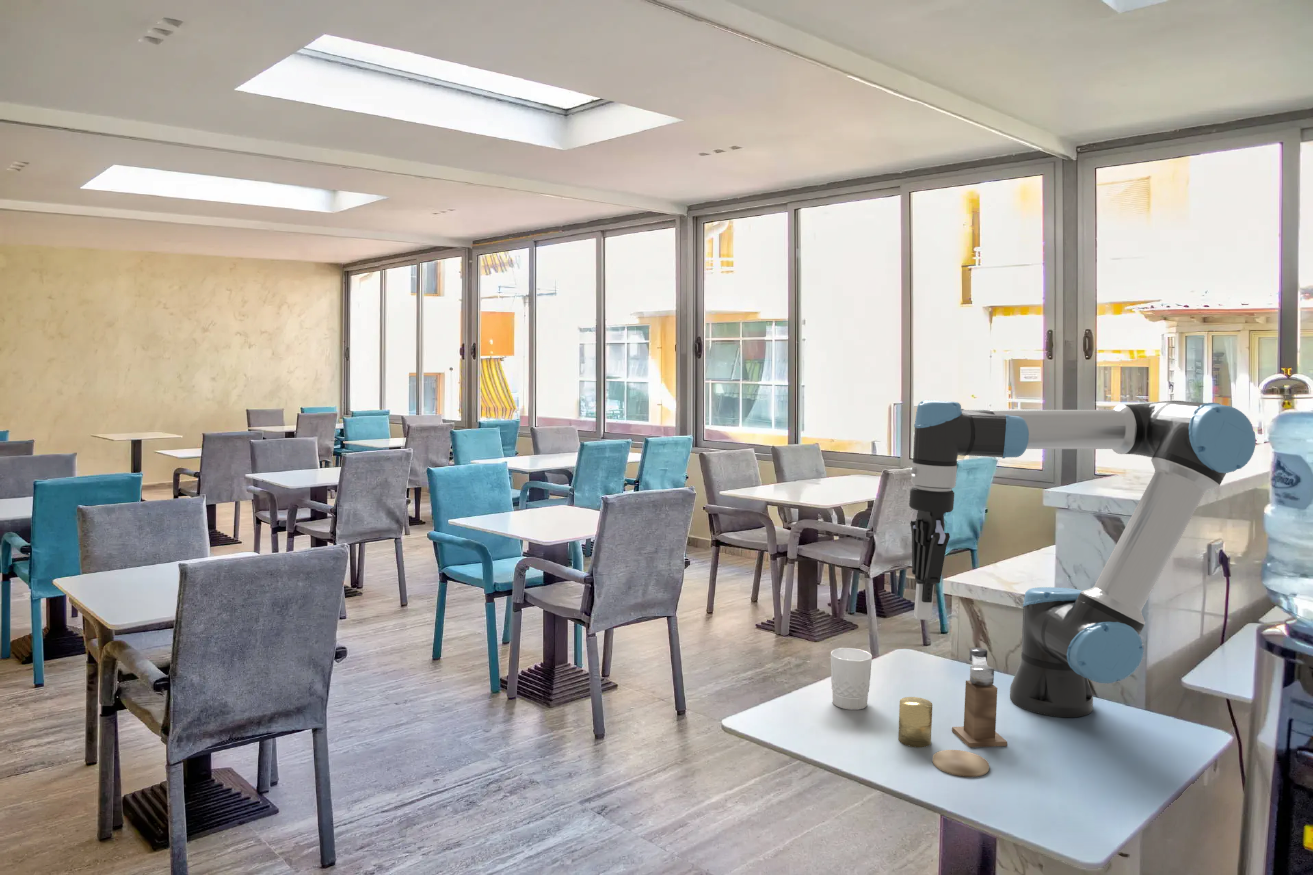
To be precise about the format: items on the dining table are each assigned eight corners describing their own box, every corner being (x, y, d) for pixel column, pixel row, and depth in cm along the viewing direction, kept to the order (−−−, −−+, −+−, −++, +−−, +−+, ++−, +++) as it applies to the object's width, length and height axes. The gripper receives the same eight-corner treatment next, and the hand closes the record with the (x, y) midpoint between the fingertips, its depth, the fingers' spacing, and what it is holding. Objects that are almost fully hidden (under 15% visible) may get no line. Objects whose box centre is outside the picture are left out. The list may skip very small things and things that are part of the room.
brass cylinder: (923, 734, 168) (924, 696, 167) (936, 747, 162) (937, 708, 162) (893, 735, 167) (895, 697, 166) (905, 748, 162) (906, 709, 161)
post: (988, 729, 170) (990, 676, 169) (1007, 746, 163) (1009, 690, 162) (951, 731, 169) (954, 677, 168) (968, 747, 162) (971, 692, 161)
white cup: (870, 713, 177) (872, 662, 176) (828, 709, 179) (830, 659, 178) (869, 698, 185) (871, 649, 184) (829, 694, 186) (831, 646, 186)
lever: (994, 686, 163) (994, 673, 162) (970, 684, 164) (970, 670, 163) (988, 658, 177) (989, 646, 177) (966, 656, 179) (967, 644, 178)
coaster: (974, 752, 160) (974, 748, 160) (998, 775, 151) (999, 772, 151) (924, 754, 159) (924, 750, 159) (946, 778, 150) (946, 774, 150)
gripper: (899, 481, 170) (890, 607, 172) (925, 492, 157) (914, 628, 159) (939, 483, 170) (929, 608, 172) (968, 494, 157) (957, 629, 159)
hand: (922, 618), depth 166 cm, fingers closed
